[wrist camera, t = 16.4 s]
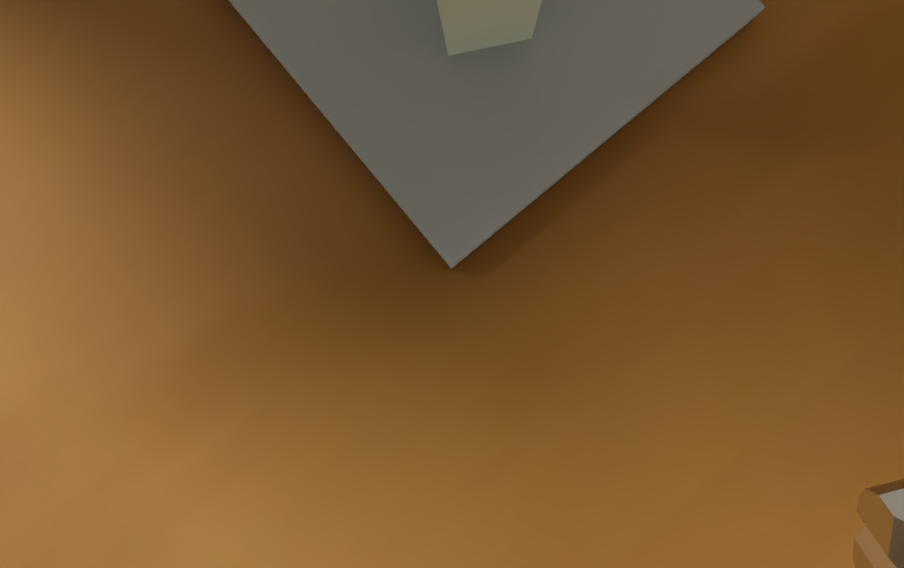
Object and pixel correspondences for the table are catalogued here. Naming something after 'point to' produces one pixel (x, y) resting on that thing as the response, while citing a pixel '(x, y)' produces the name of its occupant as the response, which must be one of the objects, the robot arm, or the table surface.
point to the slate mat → (484, 94)
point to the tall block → (486, 23)
